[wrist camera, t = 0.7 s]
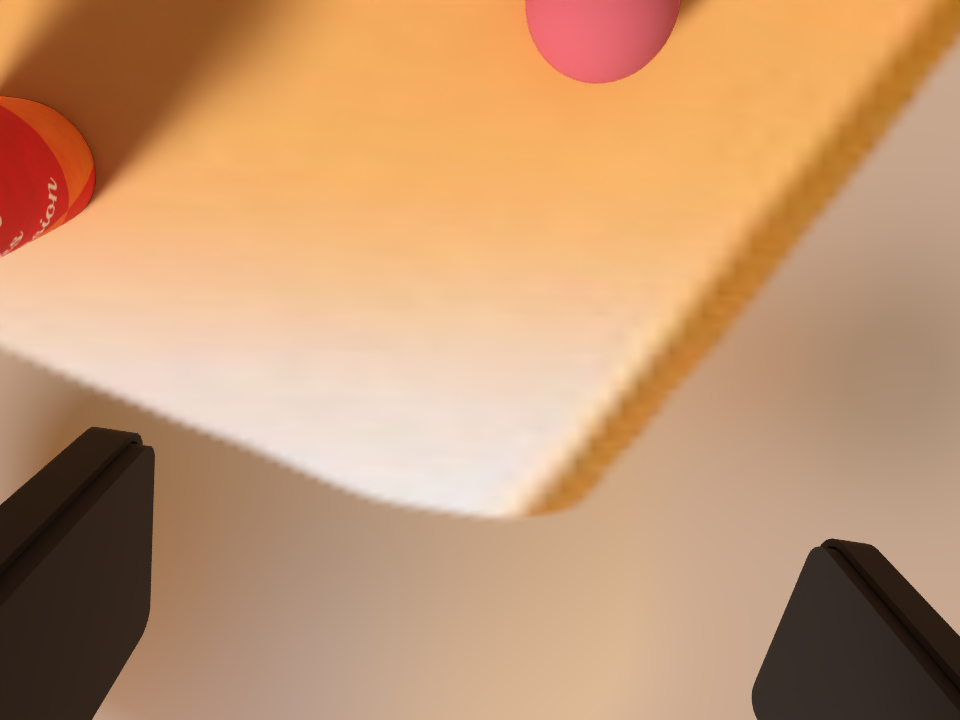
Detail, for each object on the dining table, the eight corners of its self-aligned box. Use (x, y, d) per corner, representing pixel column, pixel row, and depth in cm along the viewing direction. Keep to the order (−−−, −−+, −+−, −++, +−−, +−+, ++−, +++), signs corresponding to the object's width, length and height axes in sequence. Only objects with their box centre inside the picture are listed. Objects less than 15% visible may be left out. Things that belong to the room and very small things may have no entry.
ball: (495, 46, 30) (507, 38, 25) (556, -100, 28) (584, -144, 23) (614, 106, 31) (651, 111, 26) (680, -30, 29) (736, -57, 24)
